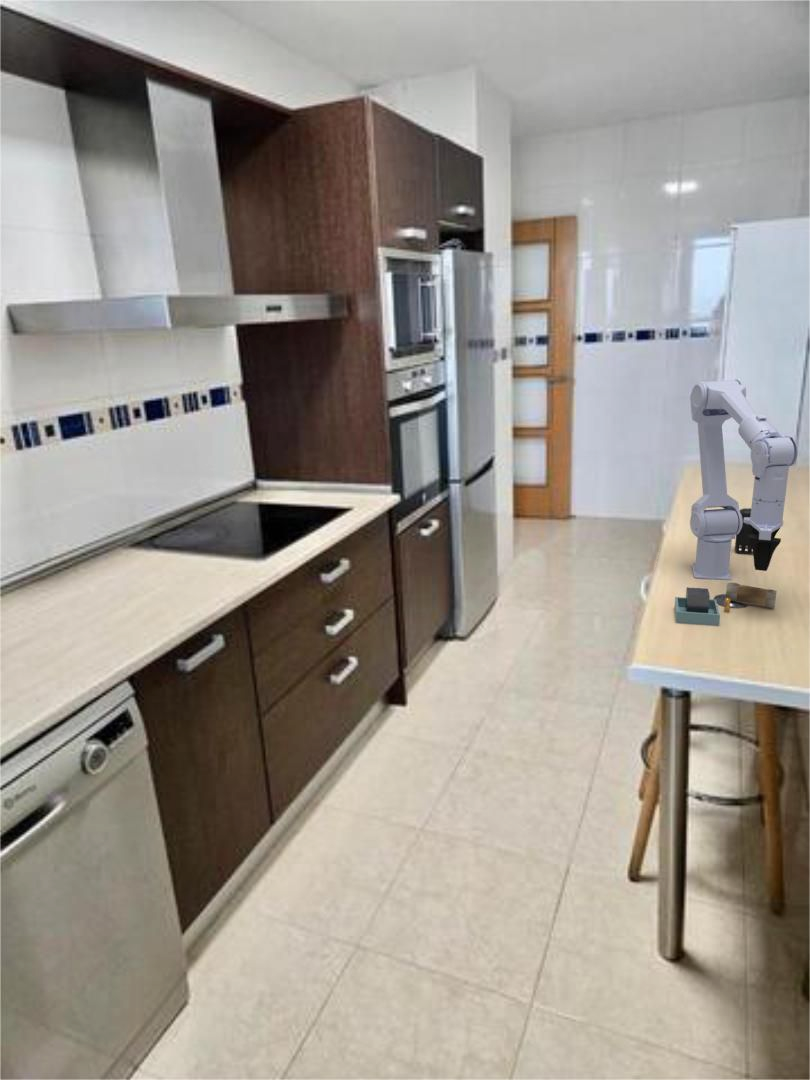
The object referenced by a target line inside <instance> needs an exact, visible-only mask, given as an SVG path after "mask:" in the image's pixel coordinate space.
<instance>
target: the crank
mask: <svg viewBox="0 0 810 1080" xmlns="http://www.w3.org/2000/svg"><path fill="white" fill-rule="evenodd" d="M725 594H726V598H730V599H731V600H730V601H741V602H746V603H750V604H753V605H757V606H763V607H766V608H775V606H776V600H777V599H776V598H777V590H775V589H772V588H771V589H769V588H768V589H767V588H762V587H755V586H750V585H744V584H739V583H737V582H727V583H726V591H725Z"/></svg>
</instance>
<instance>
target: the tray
mask: <svg viewBox="0 0 810 1080" xmlns="http://www.w3.org/2000/svg"><path fill="white" fill-rule="evenodd" d="M713 599H714V598H713ZM713 599H712V598H711V599H709V610H708V613H696V612H685V601H686V597H682V596H681V597H680V596H675V597H674V614H675V615H674V616H675V623H676V624H684V625H685V624H686V625H698V626H699V625H701V626H713V627H714V626H717V627H719V626H720V619H721V614H720V609H719V605H717V601H716V600H713Z"/></svg>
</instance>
